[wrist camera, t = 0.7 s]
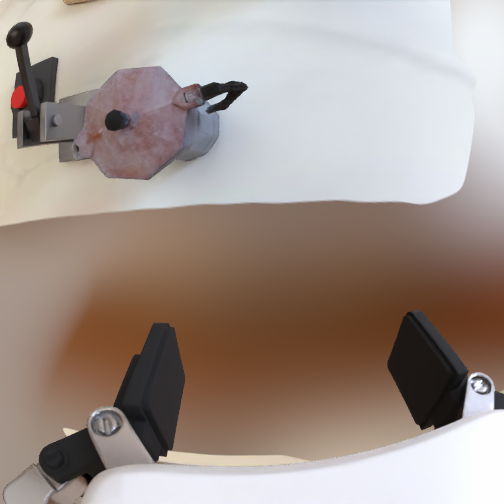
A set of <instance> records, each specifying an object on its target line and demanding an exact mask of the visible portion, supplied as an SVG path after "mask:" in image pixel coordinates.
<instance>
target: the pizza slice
mask: <svg viewBox="0 0 504 504" xmlns="http://www.w3.org/2000/svg"><path fill="white" fill-rule="evenodd" d="M85 1H90V0H63V2H64V3H65V4H74V3H80V2H85Z"/></svg>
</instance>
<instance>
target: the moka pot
mask: <svg viewBox="0 0 504 504" xmlns="http://www.w3.org/2000/svg"><path fill="white" fill-rule="evenodd" d="M247 88H248V87H247V85H246V84H244V83H243V82H235V81H230V82H228V83H225V84H219V83H216V82H213V83H210V84H207V85H205V86H202V87H201V86H200V85H199V84H193V85H190V86H187V87H184V88H181V87H180V86H179V85H178V84H177V83H176V82H175V81H174V80H173V78H172V77H171V76H170V75H169V74H168V73H167V72H166V71H165V70H164V69H163V68H162V67H161V66H155V67H142V68H131V69H122V70H118V71H116V72H115V73H114V74H113V75H112V76H111V77H110V78H109V79H108V80H107V81H106V82H105V83H104V84H103V85H102V87H101V88H100V89H99V90H98V91H97V92H96V93H95V94H94V95H93V96H92V97H91V98H90V99H89V101H88V102H87V104H86V110H85V119H84V127H83V129H82V131H81V132H80V133H79V134H78V136H77V137H76V138H75V139H74V143H73V144H72V152H73V156H74V158H75V159H76V160H83V159H92V160H93V161H94V162H95V163H96V165H97V166H98V168H99V169H100V170H101V172H102V173H103V174H104V175H105V176H106V177H108V178H123V179H143V180H149V179H151V178H152V177H153V176H154V175H156V174H157V173H158V172H160V171H161V170H162V169H163V168H165V167H166V166H167V165H169V164H170V163H171V162H172V161H173V160H175V159H178V160H183V161H190V160H192V159H195V158H198V157H200V156H203V155H205V154H206V153H207V152H208V151H209V150H210V149H211V147H212V146H213V144H214V143H215V141H216V139H217V138H218V135H219V116H218V114H217V113H216V111H220V110H225V109H226V108H228V107H229V105H230V104H232V103H233V101H234V100H236V99H237V97H239V96H240V95H241V94H242V93H243V92H244V91H246V90H247ZM225 92H228V94H227V96H226V98H225V99H224V100H222V101H221V102H219V103H217V104H214V105H210V104H209V103H208V102H207V101H206V100H209V99H211V98H213V97H215V96H218V95H220V94H222V93H225Z"/></svg>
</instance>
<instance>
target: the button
mask: <svg viewBox="0 0 504 504" xmlns="http://www.w3.org/2000/svg"><path fill="white" fill-rule="evenodd" d="M11 105H12V107H13V108H25V107H26V106H27V105H28V104H27V100H26V96H25V93H24V89H23V86H19V87H17V88H16V89H15V90H14V92H13V94H12V97H11Z"/></svg>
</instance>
